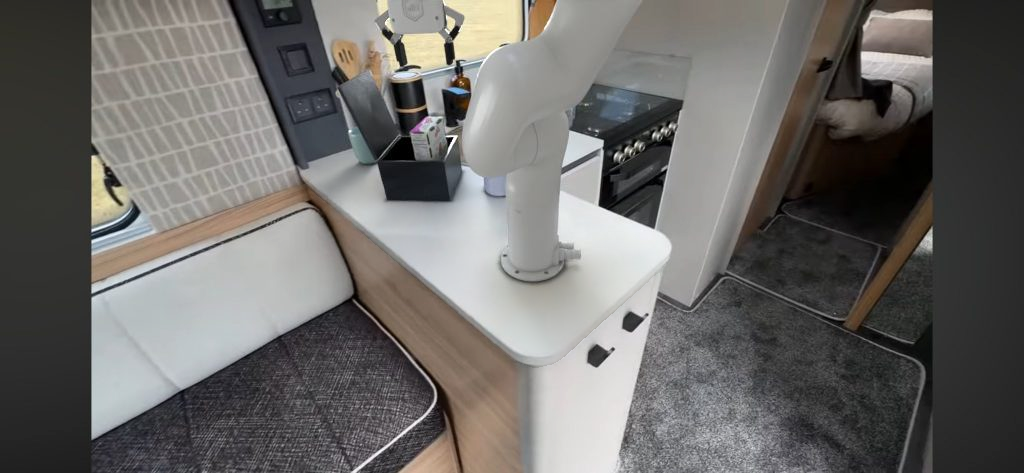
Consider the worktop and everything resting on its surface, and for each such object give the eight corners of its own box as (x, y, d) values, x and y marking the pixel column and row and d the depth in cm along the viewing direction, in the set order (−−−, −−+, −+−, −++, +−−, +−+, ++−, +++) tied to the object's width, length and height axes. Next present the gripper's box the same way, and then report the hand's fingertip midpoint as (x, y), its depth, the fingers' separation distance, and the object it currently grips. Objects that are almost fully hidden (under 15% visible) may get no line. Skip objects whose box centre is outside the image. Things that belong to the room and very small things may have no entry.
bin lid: (369, 68, 93) (350, 74, 95) (339, 86, 80) (318, 92, 81) (399, 133, 103) (382, 138, 104) (377, 159, 90) (358, 164, 91)
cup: (357, 158, 118) (348, 127, 112) (382, 154, 120) (374, 123, 114) (356, 168, 112) (347, 136, 106) (383, 164, 114) (375, 132, 108)
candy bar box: (435, 172, 107) (426, 115, 97) (452, 173, 106) (444, 116, 96) (420, 192, 98) (408, 131, 88) (438, 193, 97) (428, 132, 87)
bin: (462, 171, 108) (457, 135, 102) (450, 201, 95) (444, 162, 89) (406, 171, 110) (398, 135, 103) (387, 200, 97) (376, 161, 90)
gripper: (353, -38, 64) (379, 70, 74) (453, -44, 62) (465, 67, 72) (370, -37, 70) (392, 62, 80) (461, -43, 68) (471, 59, 78)
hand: (426, 64), depth 76 cm, fingers open, 9 cm apart
